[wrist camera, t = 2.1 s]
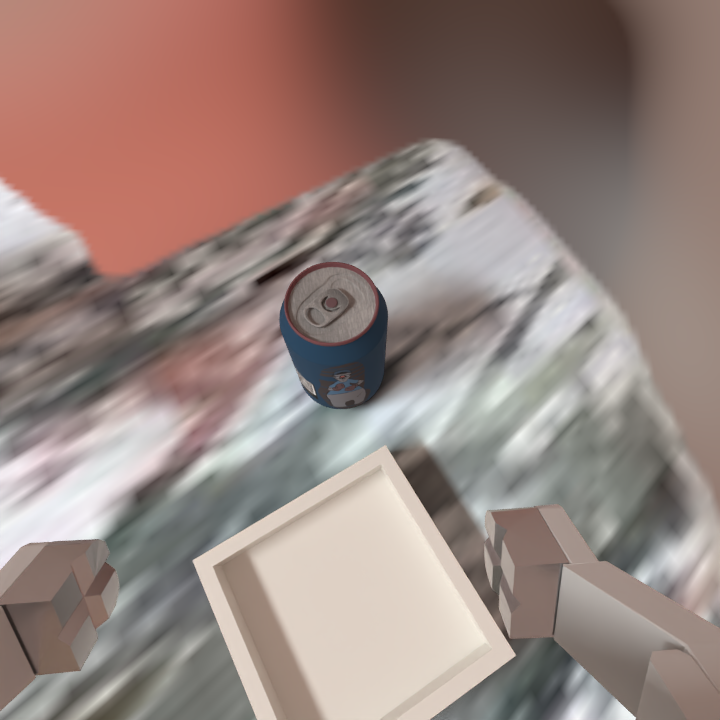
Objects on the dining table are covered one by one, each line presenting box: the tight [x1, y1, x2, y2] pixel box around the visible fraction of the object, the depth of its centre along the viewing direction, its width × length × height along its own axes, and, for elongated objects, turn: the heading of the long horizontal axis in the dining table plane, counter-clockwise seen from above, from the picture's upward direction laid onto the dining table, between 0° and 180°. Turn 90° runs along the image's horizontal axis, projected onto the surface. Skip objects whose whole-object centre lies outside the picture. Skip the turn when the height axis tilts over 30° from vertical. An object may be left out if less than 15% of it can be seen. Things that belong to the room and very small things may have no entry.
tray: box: [193, 445, 516, 720], centre depth 30 cm, size 15×15×3 cm
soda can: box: [280, 262, 388, 409], centre depth 33 cm, size 7×7×12 cm
